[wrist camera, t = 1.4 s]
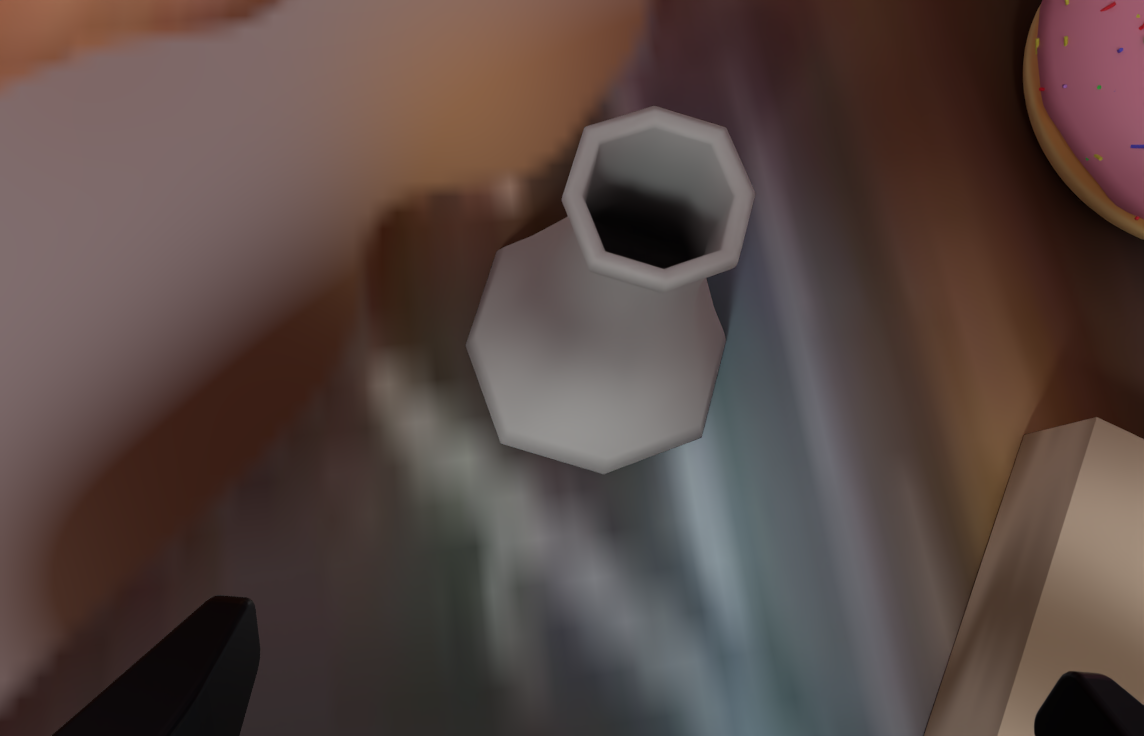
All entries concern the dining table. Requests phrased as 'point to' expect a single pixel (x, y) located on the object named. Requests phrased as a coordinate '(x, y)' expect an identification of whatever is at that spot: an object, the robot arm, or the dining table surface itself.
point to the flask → (616, 297)
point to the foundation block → (1053, 583)
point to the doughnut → (1091, 101)
